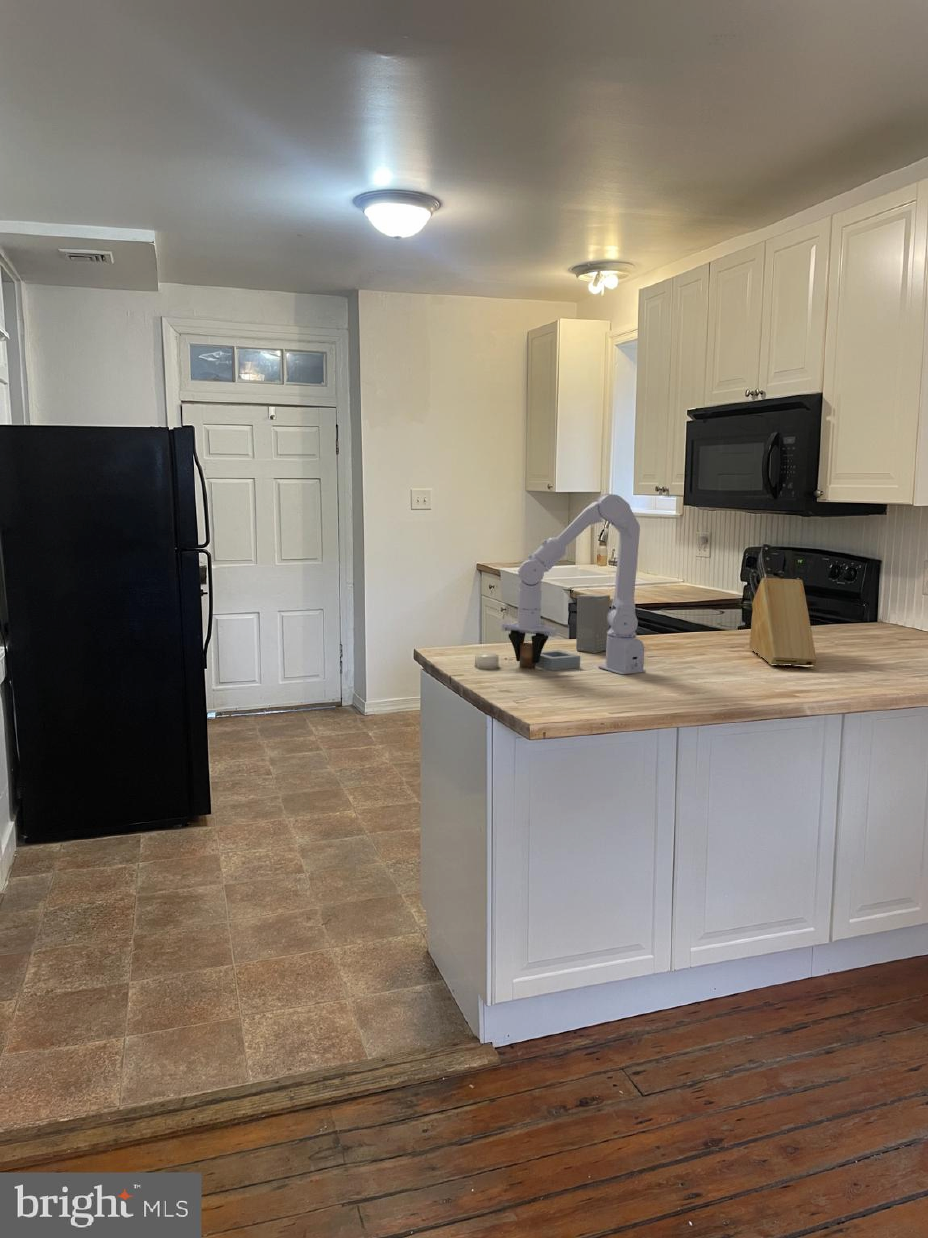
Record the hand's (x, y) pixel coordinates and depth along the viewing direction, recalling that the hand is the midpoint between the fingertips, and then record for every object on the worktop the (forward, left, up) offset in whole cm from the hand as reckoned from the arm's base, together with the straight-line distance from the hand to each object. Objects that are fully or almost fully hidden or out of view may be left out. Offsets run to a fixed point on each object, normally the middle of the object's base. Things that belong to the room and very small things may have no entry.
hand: (527, 661), depth 226 cm
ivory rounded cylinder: (+5, +9, -2) cm, 10 cm away
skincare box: (+12, -30, -2) cm, 32 cm away
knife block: (-17, -72, -2) cm, 74 cm away
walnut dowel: (0, 0, -1) cm, 1 cm away
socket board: (-2, -8, -1) cm, 8 cm away
